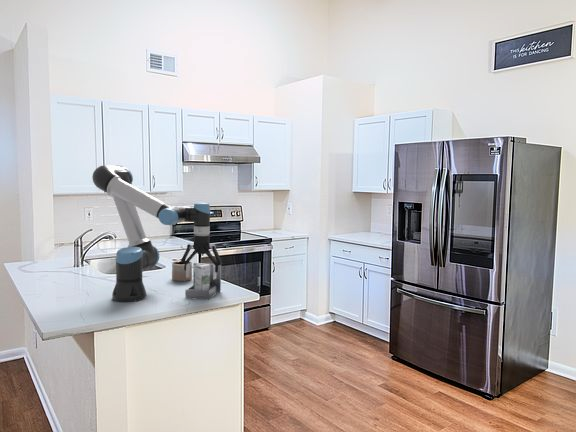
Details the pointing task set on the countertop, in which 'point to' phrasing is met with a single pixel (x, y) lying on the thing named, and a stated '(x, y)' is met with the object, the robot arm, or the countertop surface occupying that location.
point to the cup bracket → (214, 286)
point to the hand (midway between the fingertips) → (201, 278)
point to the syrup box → (201, 277)
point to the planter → (180, 272)
